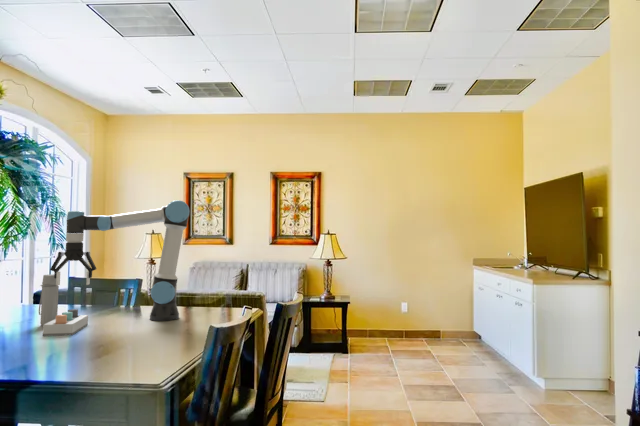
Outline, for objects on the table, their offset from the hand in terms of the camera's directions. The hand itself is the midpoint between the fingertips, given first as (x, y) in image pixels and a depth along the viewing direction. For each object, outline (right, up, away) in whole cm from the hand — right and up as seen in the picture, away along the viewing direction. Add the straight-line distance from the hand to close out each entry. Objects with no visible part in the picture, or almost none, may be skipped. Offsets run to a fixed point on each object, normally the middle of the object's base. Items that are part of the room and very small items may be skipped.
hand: (73, 284), depth 213 cm
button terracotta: (+3, -16, -16) cm, 23 cm away
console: (+2, -20, -9) cm, 22 cm away
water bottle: (-15, -21, +3) cm, 26 cm away
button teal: (+2, -17, -8) cm, 19 cm away
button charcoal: (0, -17, -1) cm, 17 cm away
